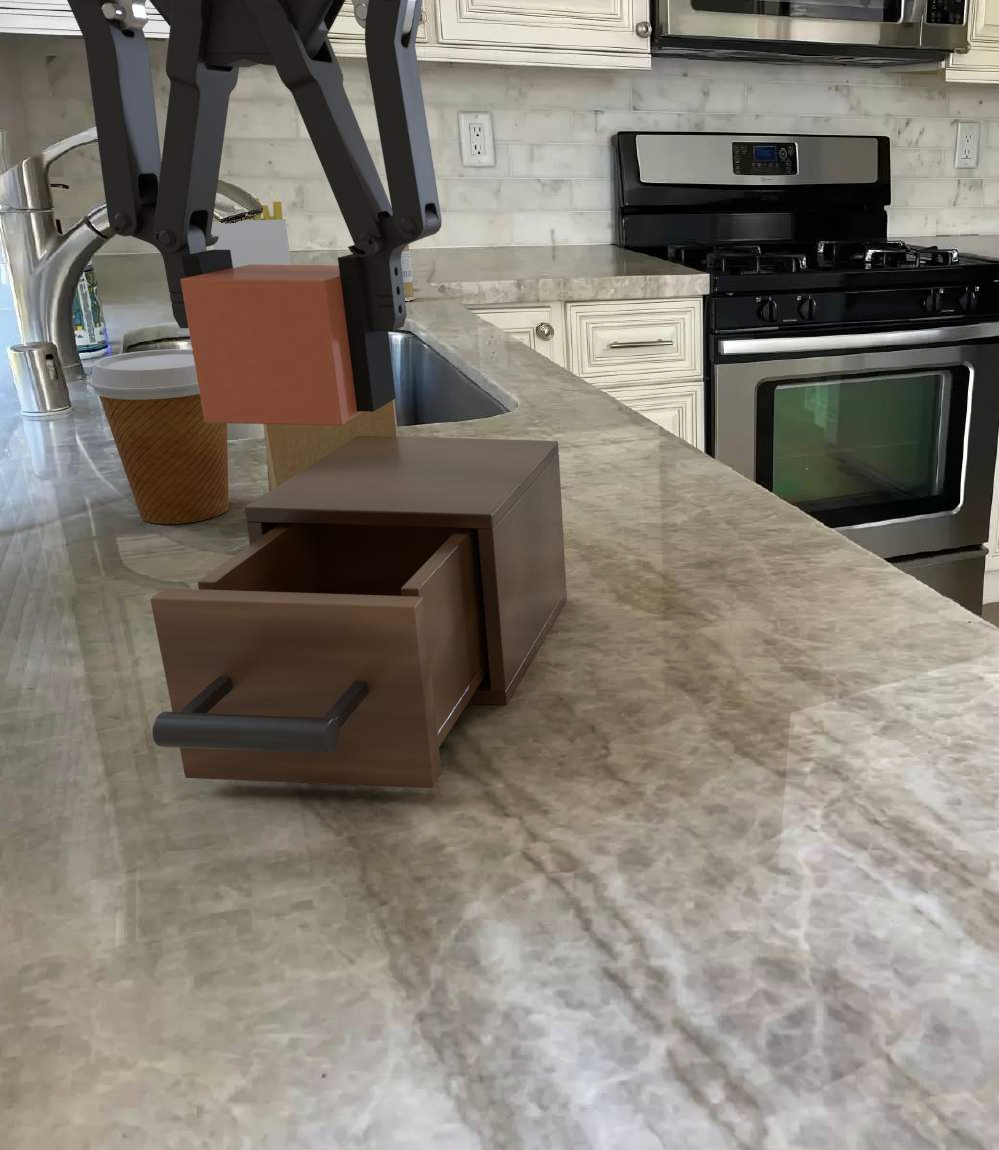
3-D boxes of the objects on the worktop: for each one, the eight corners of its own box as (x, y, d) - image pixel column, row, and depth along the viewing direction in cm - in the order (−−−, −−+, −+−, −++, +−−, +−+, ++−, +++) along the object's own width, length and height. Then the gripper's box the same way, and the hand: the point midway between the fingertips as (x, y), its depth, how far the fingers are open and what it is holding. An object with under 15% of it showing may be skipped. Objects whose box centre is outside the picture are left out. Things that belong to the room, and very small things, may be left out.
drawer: (394, 853, 46) (369, 657, 43) (121, 841, 47) (77, 646, 44) (513, 659, 64) (501, 508, 60) (312, 651, 64) (290, 502, 61)
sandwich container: (378, 491, 95) (357, 308, 90) (412, 548, 83) (390, 339, 77) (267, 504, 92) (238, 315, 86) (285, 566, 79) (252, 348, 74)
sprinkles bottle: (409, 298, 203) (401, 219, 198) (419, 301, 200) (411, 221, 195) (384, 300, 201) (375, 220, 196) (393, 303, 197) (385, 221, 192)
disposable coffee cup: (239, 488, 96) (216, 344, 92) (261, 518, 88) (237, 363, 84) (111, 505, 91) (80, 354, 87) (123, 539, 84) (90, 376, 79)
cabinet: (506, 705, 60) (491, 514, 57) (273, 696, 61) (243, 507, 57) (567, 600, 74) (558, 440, 70) (376, 593, 75) (356, 435, 71)
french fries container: (219, 317, 180) (200, 197, 174) (291, 312, 186) (276, 196, 179) (224, 321, 177) (205, 199, 170) (298, 316, 182) (282, 197, 176)
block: (268, 394, 54) (249, 264, 52) (392, 396, 54) (378, 265, 52) (203, 423, 49) (179, 278, 47) (342, 425, 48) (323, 280, 46)
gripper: (-101, -232, 40) (45, 418, 48) (434, -236, 39) (488, 427, 47) (38, -177, 47) (144, 382, 55) (494, -180, 46) (532, 389, 54)
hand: (303, 402), depth 51 cm, fingers closed on block, 6 cm apart
